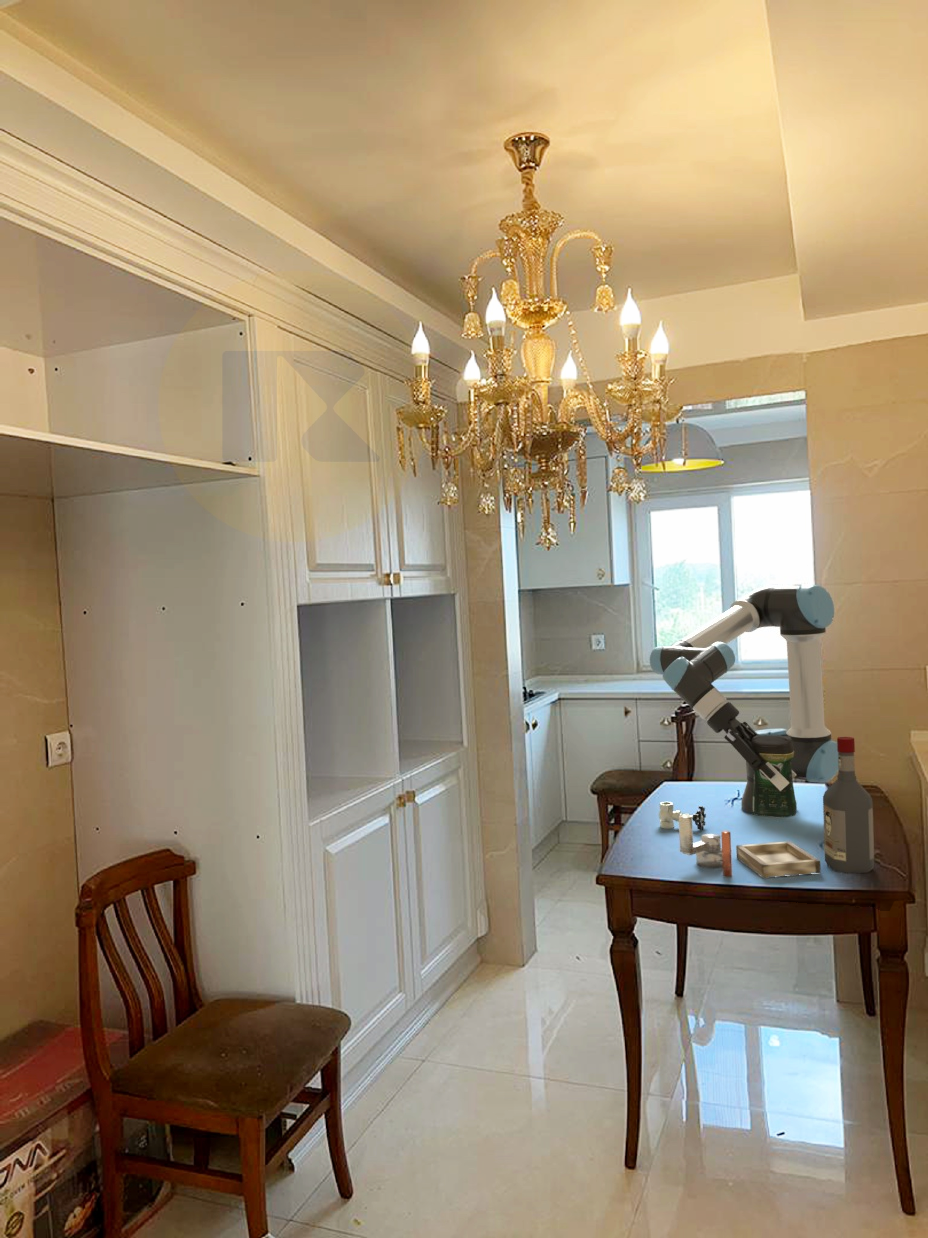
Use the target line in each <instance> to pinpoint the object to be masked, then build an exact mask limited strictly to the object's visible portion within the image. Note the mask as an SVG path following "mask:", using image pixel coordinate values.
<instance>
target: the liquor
mask: <svg viewBox="0 0 928 1238" xmlns="http://www.w3.org/2000/svg"><path fill="white" fill-rule="evenodd" d="M836 743H837V751H838V768H839V770H838V772H837V775H836V778H837V779H836V780H835V781H834V782H833V783H832V784H831V785H830V786H829V787H828V788H827V789H826V790H825V791H824V793H823V795H822V810H823V811H822V812H823V837H824V839H823V842H824V862H825V863H826V865H827V866H828V867H829V866H830V868H831V869H832V870H833V869H834V872H837V873H841V872H842V873H843V874H846V873H847V874H848V873H850V874H866V873H870V872H871V871H872V870H873V869H874V867H875V843H874V841H875V838H874V809H873V808H874V806H873V804H874V803H873V798H872V796H871V794H870V793H869V792H868V791H867V789H865V788H864V787H863V785H862V784H860V782H859V781H858V780H857V776H856V769H855V766H856V765H855V752H856V750H855V749H856V748H855V747H856V746H855V737H850V736H838V737H837V738H836ZM842 873H841V874H842ZM848 875H849V874H848Z"/></svg>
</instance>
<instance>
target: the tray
mask: <svg viewBox="0 0 928 1238" xmlns="http://www.w3.org/2000/svg"><path fill="white" fill-rule="evenodd" d="M735 846H736V859H738V860H739V861H741V862H742V863H743V864H744V865H745V866H747V867H749V868H750V869H751V870H752V871H753V870H754V871H753V872H755V873H756V874H757V873H758V874H757V875H759V876H760V875H761V876H762V877H761V876H760V877H761V878H762V879H769V878H768V877H775V876H785V875H799V874H811V873H821V871H822V870H821V860H820V859H818V858H817V857H815V856H814V855H812V854H811V853H809V852H808V851H806V850H804V849H803V848H801V847H799V846H798V845H796V844H795V843H794V842H791V841H790V840H789V841H775V842H765V843H751V844H737V845H735ZM821 874H822V873H821ZM799 876H800V875H799ZM775 878H776V877H775Z"/></svg>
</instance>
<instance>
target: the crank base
mask: <svg viewBox="0 0 928 1238" xmlns="http://www.w3.org/2000/svg"><path fill="white" fill-rule="evenodd" d="M731 837H732V836H731V831H728V830H723V831H721V836H720V838H721V850H720V851H717V852H707V851H702V852H699V853H696V854H695V857H696V865H697V866H699V867H701V868H706V869H720V868H722V876H723V877H724V876H725V877H726V878H731V877H733V869H732V867H733V866H732V865H733V863H732V843H731V842H732V840H731ZM725 877H724V878H725Z"/></svg>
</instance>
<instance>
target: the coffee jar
mask: <svg viewBox="0 0 928 1238" xmlns="http://www.w3.org/2000/svg"><path fill="white" fill-rule="evenodd" d="M752 745H753V747H754V748H755V749H756V750H757V752H758V753H759V754H760V755H761V756H762V757H763V758H764V760H765V761H766V763H767V762H769V763H770V764H771V765H772V766H773V767H774V768H775V769H776V770H777V771H778V772H779V773H780V774H781V775H782V776H783V777H784V778H785V779H786V780H787V781H788V782H789V784H788V785H787V786H786V787H785V788H784V789H782V790H781V791H780V790H779V789H778V788H777V787H776V786H775V785H774V784H773V783H772V782H771V781H770V780H769V779H768V778H767V777H766V776H765V775H764V774H763V773H762V772H761V771H760V769H759V770H758V771H757V772H755V771H754V790H753V812H754V813H755V814H754V815H756V814H757V815H756V816H760V817H765V818H766V817H767V818H780V819H781V818H789V817H794V816H795V815H796V813H797V811H796V803H797V800H796V795H795V789H794V780H793V779H792V759H793V757H794V748H793V743H792V739H791V737H790V736H778V735H756V736H755V737H753V739H752ZM766 763H765V764H766ZM795 800H796V801H795Z"/></svg>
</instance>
